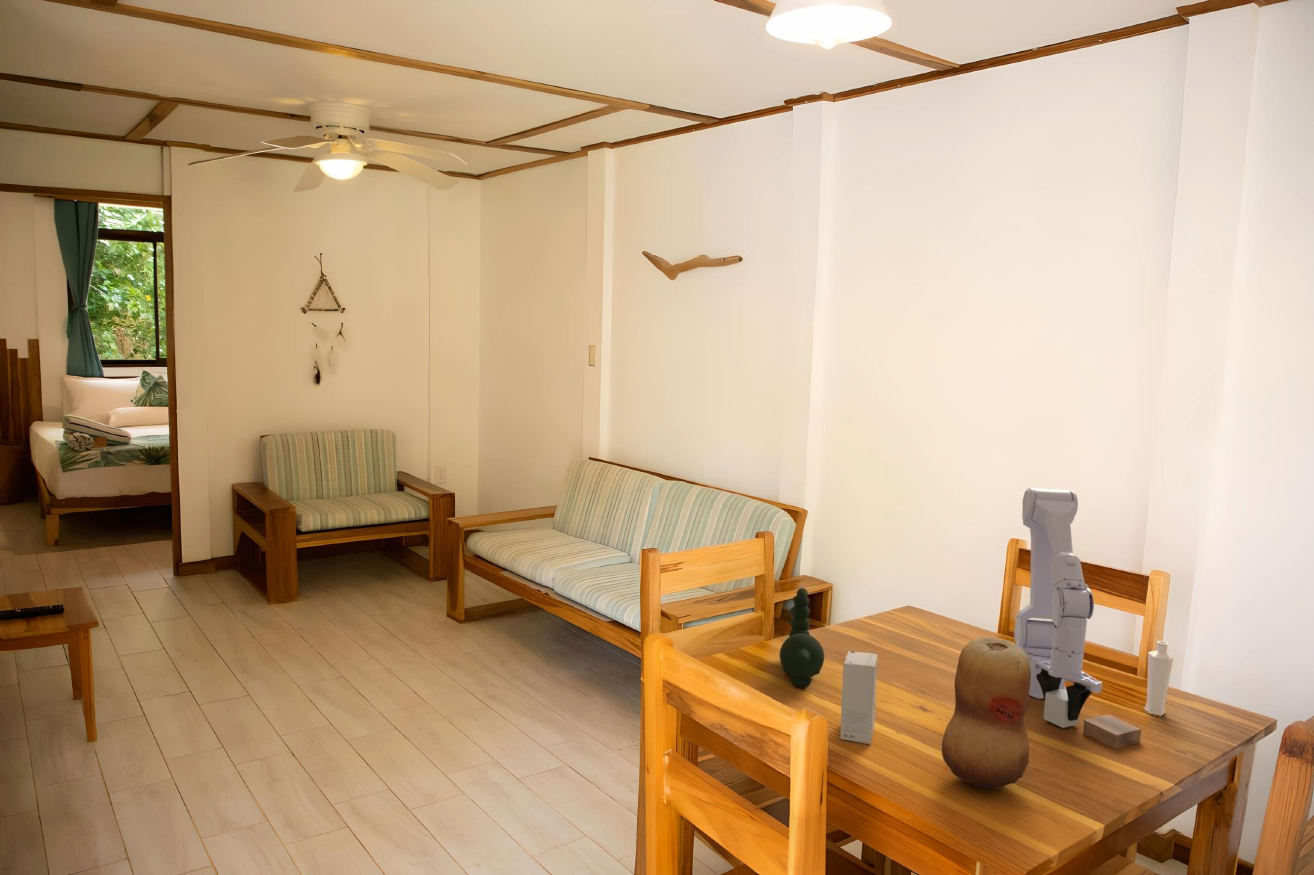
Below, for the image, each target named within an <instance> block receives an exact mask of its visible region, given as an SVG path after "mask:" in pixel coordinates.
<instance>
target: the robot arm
mask: <svg viewBox="0 0 1314 875" xmlns="http://www.w3.org/2000/svg"><path fill="white" fill-rule="evenodd" d="M1077 495H1078V494H1076V493H1075V491H1074V490H1072V489H1068V490H1063V489H1051V488H1050V489H1049V488H1034V487H1028V488H1027V489H1026V490H1025V491H1024V494H1023V498H1022V514H1021V516H1022V517H1021V518H1022V525H1023V526H1026V527H1027V528H1028V529H1029V532H1030V581H1029V582H1030V585H1029V586H1030V588H1029V589H1030V591H1029V592H1030V596H1029V597H1030V598H1029V601H1030V602H1029V603H1028V604H1027V605H1026V606H1025V607H1023V608H1022V609H1020V610H1019V611H1018V612H1016V616H1015V624H1014V630H1013V638H1014V642H1015V643H1014V644H1016V645H1017V646H1018V647H1020V648H1021V649H1022V650H1023V651H1024V652H1025V654H1026V655H1027V656H1028V658H1029V662H1030V669H1031V684H1030V690H1029V697H1030V696H1031V697H1033V698H1035V699H1038V700H1040V699H1041V700H1042V699H1043V700H1044V702H1045V697H1046V692H1050V691H1054V690H1058V689H1063V690H1065V691H1067V695H1068V720H1070V721H1073V720H1077V719H1078V716H1079V717H1080V713H1081V711H1082V708H1083V707H1084V705H1085V703H1086V701H1087V700H1088V698H1089V697H1090V696H1091V694H1092V693H1093V694H1098V693H1102V689H1103V688H1102V687H1103V682H1102V681H1100V680H1098V679H1096V678H1094V677H1093V676H1091V675H1089V674H1088V673H1087V672H1084V671H1083V663H1084V654H1085V643H1086V636H1087V635H1086V633H1087V623H1088V620H1090V619H1091V618H1092V617H1093V613H1094V609H1095V608H1094V607H1095V603H1094V595H1093V592H1092V590H1091V589H1090V587H1089V585H1088V584H1086V583H1085V578H1084V574H1083V573H1084V572H1083V568H1082V563H1081V559H1080V558H1079V557H1078V556H1076V555H1075V554H1074V552H1073V540H1072V529H1071V524H1073V522H1074V520H1075V516H1076V514H1077V512H1078V508H1079V507H1078V506H1079V501H1078V496H1077ZM1037 619H1042V620H1037ZM1043 619H1044V620H1043ZM1087 619H1088V620H1087ZM1066 681H1067V682H1070V683H1072V684H1073V685H1072V684H1071V685H1068V686H1066V687H1065V685H1066V684H1065V683H1066Z"/></svg>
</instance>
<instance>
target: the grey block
mask: <svg viewBox="0 0 1314 875" xmlns="http://www.w3.org/2000/svg"><path fill="white" fill-rule="evenodd" d="M1079 719H1080V715H1079V716H1078V719H1077V720H1073V721H1070V720H1068V695H1067V691H1065V690H1063V689H1058V690H1054V691H1050V692H1046V697H1045V701H1044V709H1043V720H1045V721H1047V722H1048V723H1049V722H1050V723H1052V724H1053V725H1056V726H1058V727H1060V728H1061V729H1064V728H1069V727H1072V726H1076V725H1078V724H1079Z"/></svg>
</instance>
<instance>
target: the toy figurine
mask: <svg viewBox="0 0 1314 875" xmlns="http://www.w3.org/2000/svg"><path fill="white" fill-rule="evenodd" d="M808 596H809V594H808V590H807V589H806V588H804V587H800V588H798V589H797V591H796V594H795V596H793V598H792V601H793V605H794V606H792V607H791V608H790V612H791V613H792V618H791V619H790V620H789V622H788V624H789V625H790V627H791V629H790V631H789V634H788V636H789V637H787V638H786V639H785V640H784V642H782V645H781V646H780V649H779V660H780V661H779V662H780V664H781V666H782V671H783V673H784V674H786V675H789V676H790V683H791V685H792V686H793V687H795V688H798V687H799V688H800V689H804V688H808V687H809V686H810V685H811V682H812V680H811V679H812V677H814V676H817V675H819V674H820V672H821V670H822V668H823V665H824V663H825V662H824V661H825V652H824V648H823V647H822V644H821V643H820V641H819V640H817V638H815V637H813V636H812V635H811V634H810V631H809V628H810V626H811V622H810V620H809V616H810V613H811V609H810V608H809V603H810V599H809V598H808Z"/></svg>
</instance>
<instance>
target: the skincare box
mask: <svg viewBox="0 0 1314 875" xmlns="http://www.w3.org/2000/svg"><path fill="white" fill-rule="evenodd" d="M844 660H845V661H844V662H843V664H842V666H843V668H842V686H841V687H842V689H841V706H840V707H841V711H840V734H839V736H840V737H839V740H843V741H851V742H855V743H860V744H863V745H864V744H865V745H871V744H872V736H873V732H874V729H875V719H876V718H875V716H876V694H877V666H878V665H877V664H878V654H877V653H870V652H861V651H853V650H852V651H851V650H848V651H847V654H846V655H845V659H844Z"/></svg>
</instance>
